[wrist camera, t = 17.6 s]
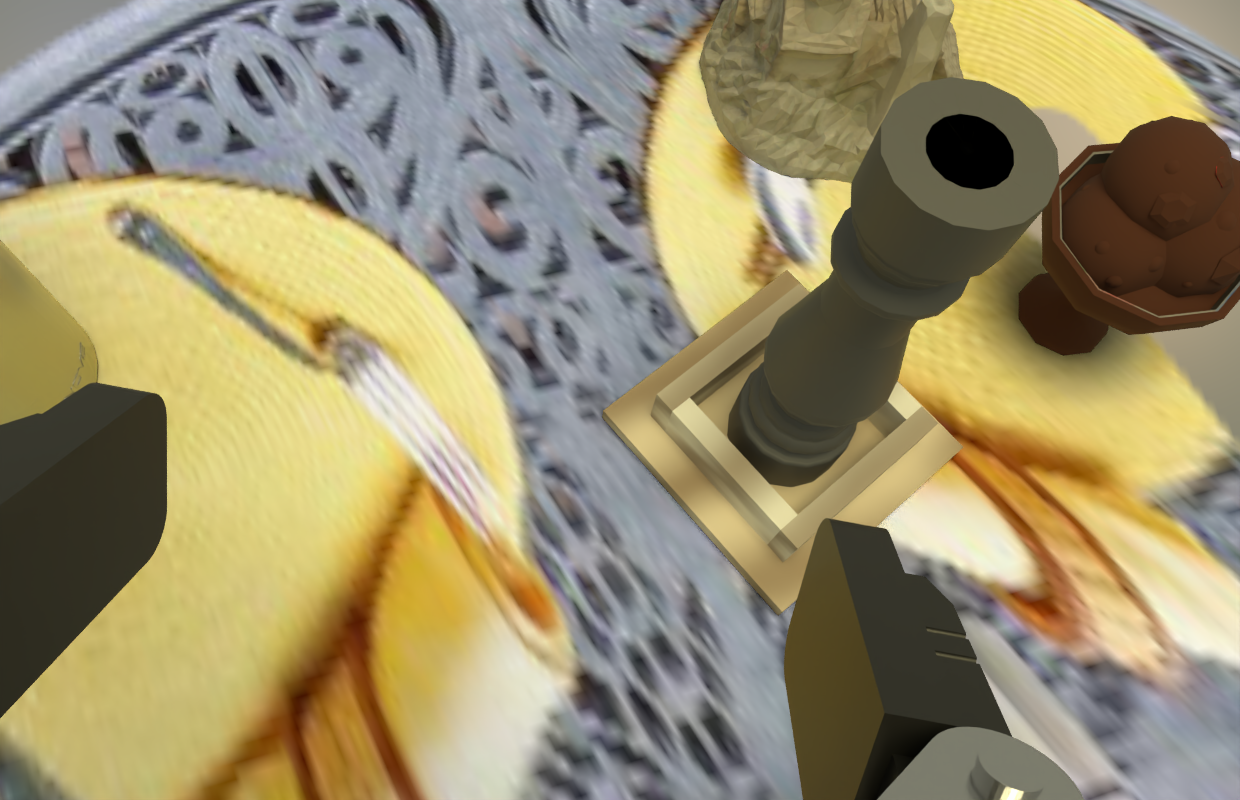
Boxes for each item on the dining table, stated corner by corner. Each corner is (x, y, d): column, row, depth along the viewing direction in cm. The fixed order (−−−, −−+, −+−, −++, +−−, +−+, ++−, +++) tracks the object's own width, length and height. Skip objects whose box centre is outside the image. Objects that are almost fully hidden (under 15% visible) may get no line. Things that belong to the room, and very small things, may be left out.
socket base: (602, 417, 54) (607, 389, 51) (783, 278, 58) (799, 243, 55) (777, 615, 51) (797, 601, 47) (956, 453, 55) (986, 427, 51)
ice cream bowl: (973, 382, 57) (1115, 247, 43) (976, 219, 61) (1106, 48, 47) (1154, 414, 57) (1353, 290, 43) (1144, 249, 61) (1323, 88, 48)
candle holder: (720, 382, 54) (855, 71, 31) (830, 377, 55) (1041, 69, 32) (734, 490, 52) (891, 240, 29) (848, 484, 53) (1090, 235, 30)
